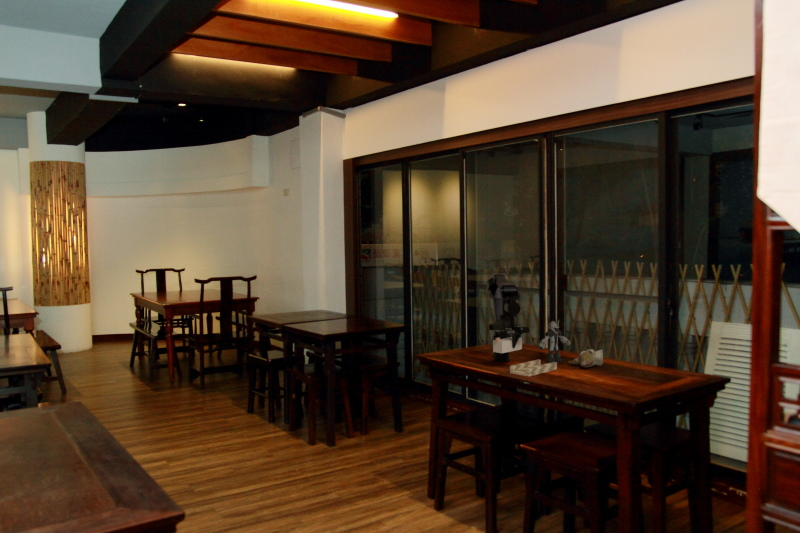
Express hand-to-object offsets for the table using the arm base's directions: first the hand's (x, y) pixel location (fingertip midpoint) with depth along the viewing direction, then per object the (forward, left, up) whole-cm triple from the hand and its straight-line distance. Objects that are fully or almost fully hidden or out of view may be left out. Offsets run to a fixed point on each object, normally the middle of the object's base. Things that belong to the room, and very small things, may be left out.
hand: (508, 347), depth 284 cm
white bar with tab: (0, -1, -1) cm, 2 cm away
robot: (+8, +24, -9) cm, 26 cm away
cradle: (+13, +1, -9) cm, 16 cm away
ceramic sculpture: (+25, +25, -9) cm, 36 cm away
